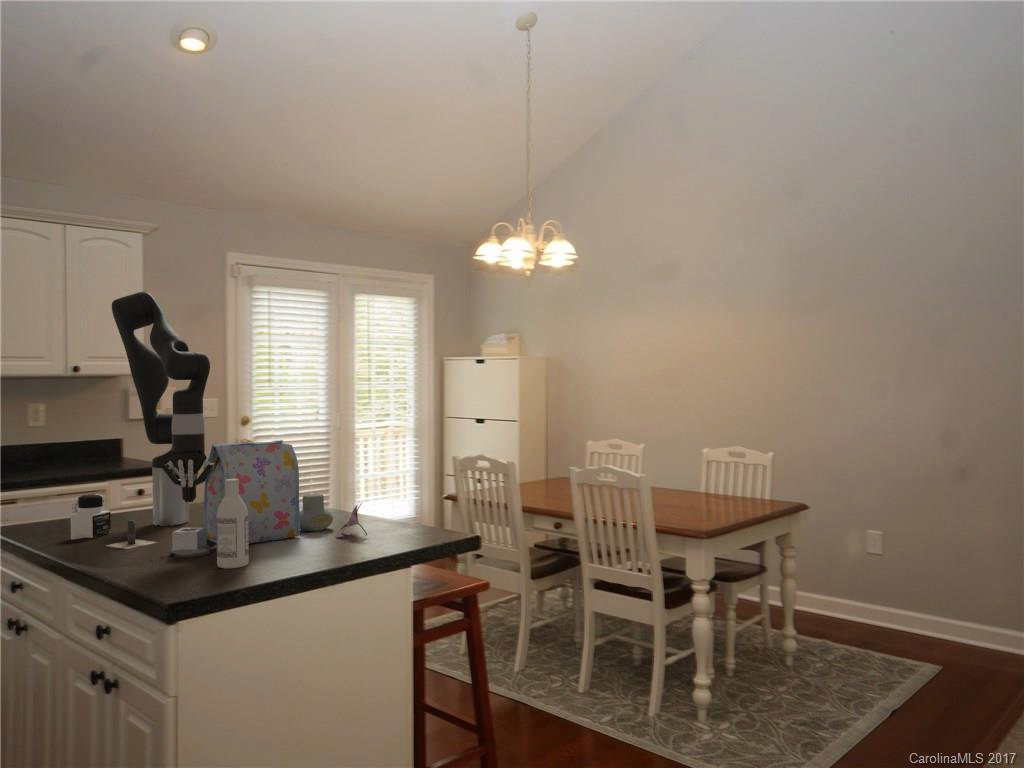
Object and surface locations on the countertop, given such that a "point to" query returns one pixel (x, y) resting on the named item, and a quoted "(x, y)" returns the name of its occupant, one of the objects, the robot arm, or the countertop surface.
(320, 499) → the air freshener
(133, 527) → the stand
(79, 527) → the medicine bottle
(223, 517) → the bath foam
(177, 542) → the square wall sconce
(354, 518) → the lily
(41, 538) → the countertop surface
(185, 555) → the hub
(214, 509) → the lunch bag
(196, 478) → the robot arm
